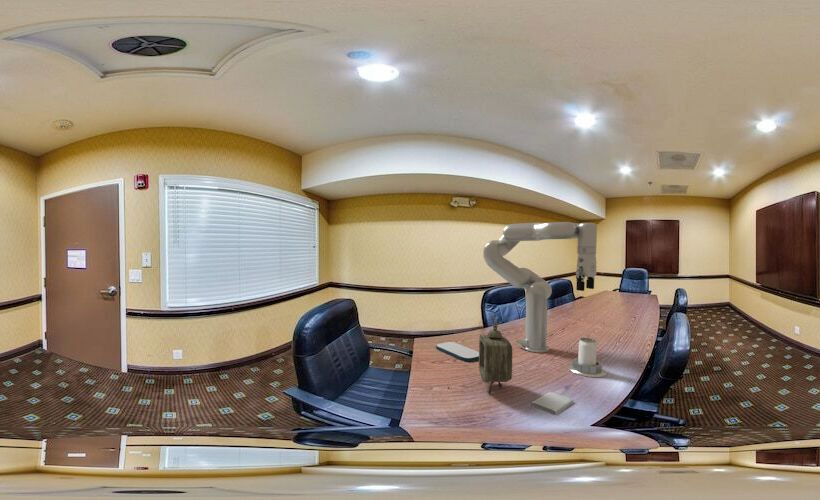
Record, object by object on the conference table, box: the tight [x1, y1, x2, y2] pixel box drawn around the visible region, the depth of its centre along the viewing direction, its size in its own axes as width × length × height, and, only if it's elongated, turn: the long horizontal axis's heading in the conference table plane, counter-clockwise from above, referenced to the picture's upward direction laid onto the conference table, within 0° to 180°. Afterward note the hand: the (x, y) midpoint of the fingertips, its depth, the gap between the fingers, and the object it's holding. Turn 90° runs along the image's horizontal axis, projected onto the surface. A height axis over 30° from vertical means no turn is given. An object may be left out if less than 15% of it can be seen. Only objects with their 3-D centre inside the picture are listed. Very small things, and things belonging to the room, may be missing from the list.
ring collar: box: [567, 357, 608, 379], centre depth 148 cm, size 14×14×4 cm
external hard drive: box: [435, 341, 479, 363], centre depth 168 cm, size 24×12×2 cm, turn 33°
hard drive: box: [530, 391, 575, 415], centre depth 119 cm, size 2×8×12 cm
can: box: [577, 337, 598, 366], centre depth 148 cm, size 6×6×12 cm
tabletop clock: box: [478, 316, 513, 394], centre depth 130 cm, size 14×9×25 cm, turn 178°
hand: (585, 289), depth 164 cm, fingers open, 9 cm apart
